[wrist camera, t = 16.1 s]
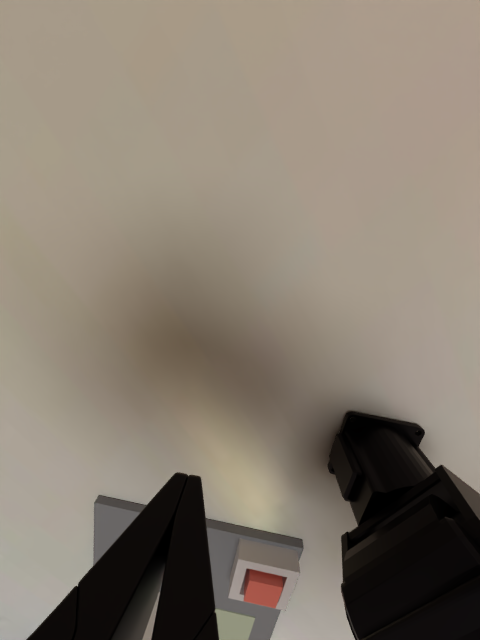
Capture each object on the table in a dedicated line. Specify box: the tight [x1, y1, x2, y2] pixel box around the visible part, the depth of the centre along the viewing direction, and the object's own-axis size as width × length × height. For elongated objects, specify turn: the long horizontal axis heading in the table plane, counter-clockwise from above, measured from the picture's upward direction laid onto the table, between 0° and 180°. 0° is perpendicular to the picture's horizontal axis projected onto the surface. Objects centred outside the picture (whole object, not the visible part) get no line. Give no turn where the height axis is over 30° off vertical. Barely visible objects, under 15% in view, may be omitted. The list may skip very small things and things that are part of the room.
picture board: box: [93, 495, 304, 640], centre depth 28 cm, size 22×20×3 cm
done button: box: [244, 568, 283, 608], centre depth 25 cm, size 3×3×2 cm
